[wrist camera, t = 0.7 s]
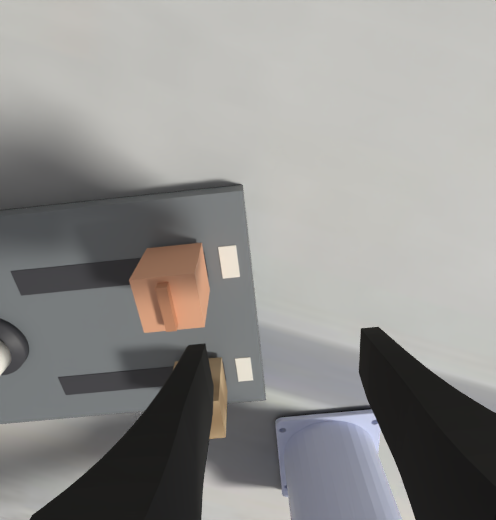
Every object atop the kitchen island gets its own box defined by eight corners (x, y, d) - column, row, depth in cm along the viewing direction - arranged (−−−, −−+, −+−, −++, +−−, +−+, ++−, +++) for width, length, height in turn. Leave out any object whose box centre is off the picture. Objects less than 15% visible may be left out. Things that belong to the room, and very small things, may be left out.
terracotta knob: (209, 290, 21) (203, 333, 17) (158, 295, 21) (141, 339, 17) (201, 242, 19) (193, 278, 16) (146, 248, 20) (125, 285, 16)
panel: (264, 387, 26) (266, 407, 25) (9, 410, 27) (-5, 431, 25) (242, 184, 20) (242, 193, 18) (-96, 220, 20) (-125, 232, 19)
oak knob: (227, 391, 24) (225, 445, 21) (183, 395, 24) (173, 449, 21) (221, 357, 23) (218, 408, 19) (174, 361, 23) (163, 413, 19)
